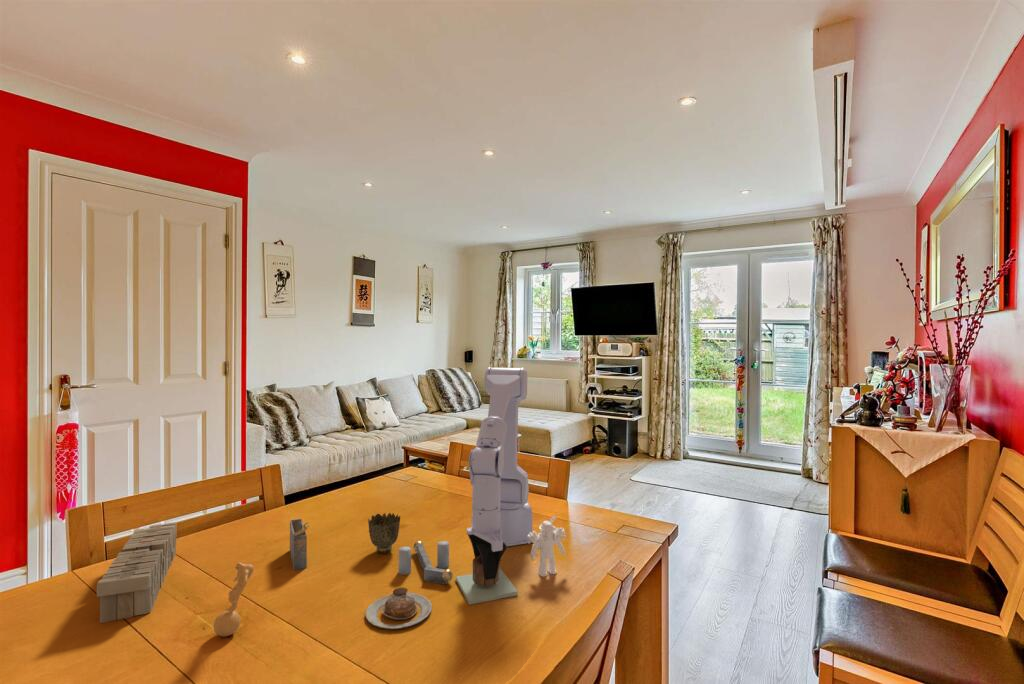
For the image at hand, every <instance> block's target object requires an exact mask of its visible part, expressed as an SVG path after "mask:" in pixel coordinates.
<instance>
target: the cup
mask: <svg viewBox="0 0 1024 684" xmlns="http://www.w3.org/2000/svg"><path fill="white" fill-rule="evenodd" d="M367 524H368V531H369V538H370V542H371V543H372V544H373V546H375V547H376V548H375V549H376V552H377V553H378V554H382V555H383V554H385V555H386V554H388V553H390V552H391V551H392V549H393V545H394V544H395V543H396V541H397V540H398V538H399V533H400V524H401V515H399V514H398V513H397V514H396V515H395V513H394V512H392V513H391V512H389V513H388V514H386V512H385V513H383V514H380V513H376V514H375V515H371V519H369V518H368V519H367Z"/></svg>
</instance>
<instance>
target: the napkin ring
mask: <svg viewBox="0 0 1024 684" xmlns="http://www.w3.org/2000/svg"><path fill="white" fill-rule="evenodd" d="M499 569H500V565H499V566H498V571H497V575H496V578H495V579H489V580H486V579H485V577H484V572H483V564H482V558H481V555H480V556H477V557H475V556H474V558H473V559H472V574H473V581H474V583H475V584H477V585H481V586H489V585H494V584H495V583H496V582H497V581H498V580H499Z"/></svg>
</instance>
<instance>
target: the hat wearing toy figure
mask: <svg viewBox="0 0 1024 684" xmlns="http://www.w3.org/2000/svg"><path fill="white" fill-rule="evenodd" d="M556 518H557V514H555V515H554V516H553V517H550V518H549V520H544V521H542V523H541V524H539V526H538V528H539V530H540V531H539V532H537V531H535V530H533V532H532V533H531V532H530V533H529V534H528V535H527V538H528V539H529V540H530V542H531V541H532V544H533V545H532V546H531V551H530V560H531V561H532V562H533V561H535V556H536V557H539V567H538V570H537V571H538V575H539V576H541V577H543V578H544V577H547V576H548V573H549V574H551V575H556V574H557V573H558V571H557V569H556V561H555V560H556V559H555V553H554V546H555V544H556V546H557V547H558V554H561V553H562V557H564V556H565V555H566V550H565V548H564V546H563V544H562V542H563V541H564V540H565V539H566V538H567V535H566V531H565V528H564V527H556V526H554V525H553V523H554V521H556ZM530 542H528V543H527V544H528V545H530V544H531V543H530ZM537 550H539V551H540V552H539V554H538V552H537ZM547 560H548V564H547Z"/></svg>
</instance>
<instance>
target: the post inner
mask: <svg viewBox="0 0 1024 684" xmlns="http://www.w3.org/2000/svg"><path fill="white" fill-rule="evenodd" d="M436 547H437V548H436V550H437V551H436V552H437V553H436V556H437V557H436V561H437V562H436V563H437V564H436V565H437V566H436V568H438V569H447V568H448V567H449V566H450V542H449V541H447V540H443V541H439V542H437V546H436Z"/></svg>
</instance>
